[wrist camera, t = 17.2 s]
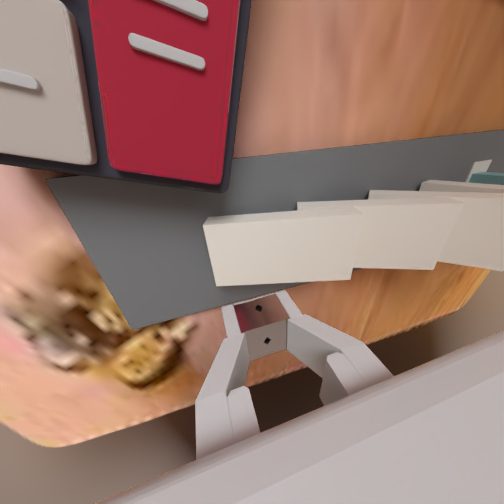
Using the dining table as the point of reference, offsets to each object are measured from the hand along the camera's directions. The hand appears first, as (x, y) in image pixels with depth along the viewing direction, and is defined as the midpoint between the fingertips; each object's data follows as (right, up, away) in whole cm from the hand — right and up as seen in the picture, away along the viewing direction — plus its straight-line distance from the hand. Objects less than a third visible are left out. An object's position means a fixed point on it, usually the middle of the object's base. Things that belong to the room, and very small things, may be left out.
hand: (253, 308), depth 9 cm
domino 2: (+4, +4, +7) cm, 9 cm away
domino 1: (-3, +2, +5) cm, 7 cm away
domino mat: (+9, +6, +9) cm, 14 cm away
